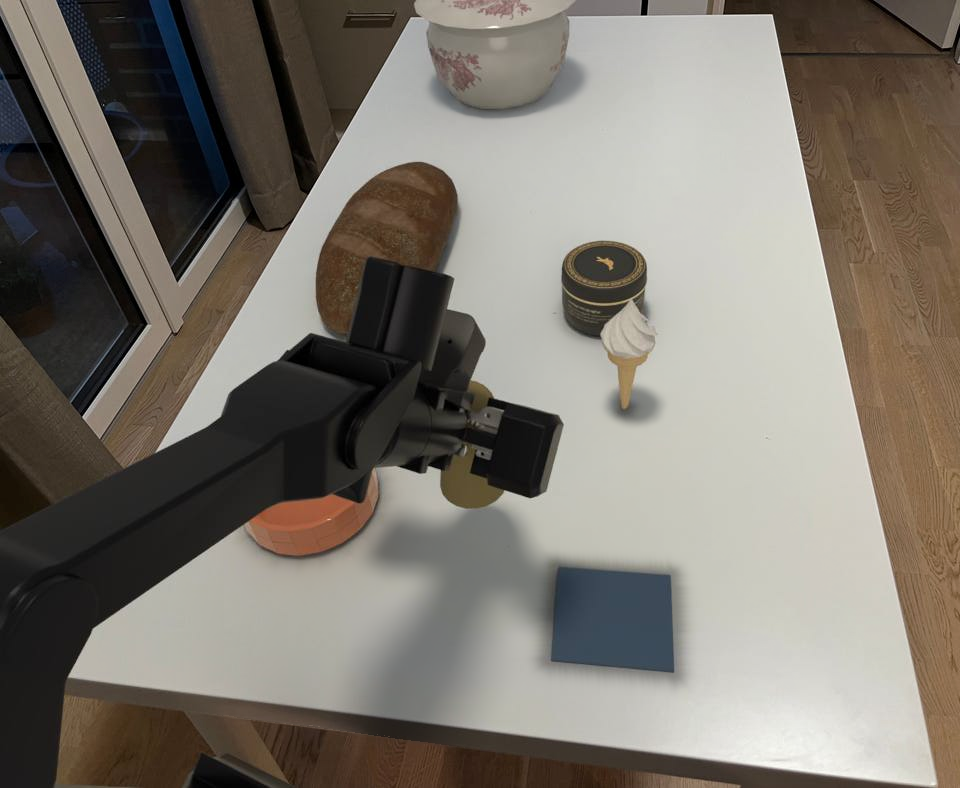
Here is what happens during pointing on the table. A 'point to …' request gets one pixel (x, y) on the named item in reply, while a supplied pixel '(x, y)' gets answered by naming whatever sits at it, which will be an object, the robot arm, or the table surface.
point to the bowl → (312, 522)
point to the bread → (384, 233)
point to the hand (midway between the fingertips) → (475, 425)
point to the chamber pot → (496, 48)
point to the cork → (469, 467)
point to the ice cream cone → (628, 345)
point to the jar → (601, 283)
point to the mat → (613, 619)
